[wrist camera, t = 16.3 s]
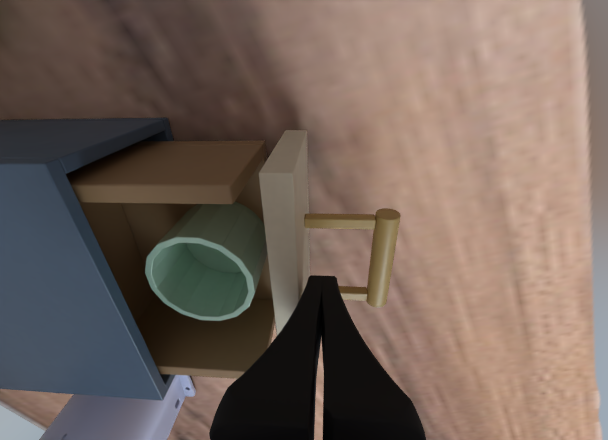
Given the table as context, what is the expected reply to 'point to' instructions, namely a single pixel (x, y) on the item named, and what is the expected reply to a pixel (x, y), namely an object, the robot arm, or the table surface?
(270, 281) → the drawer
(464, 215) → the table surface
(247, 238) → the cup
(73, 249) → the cabinet
